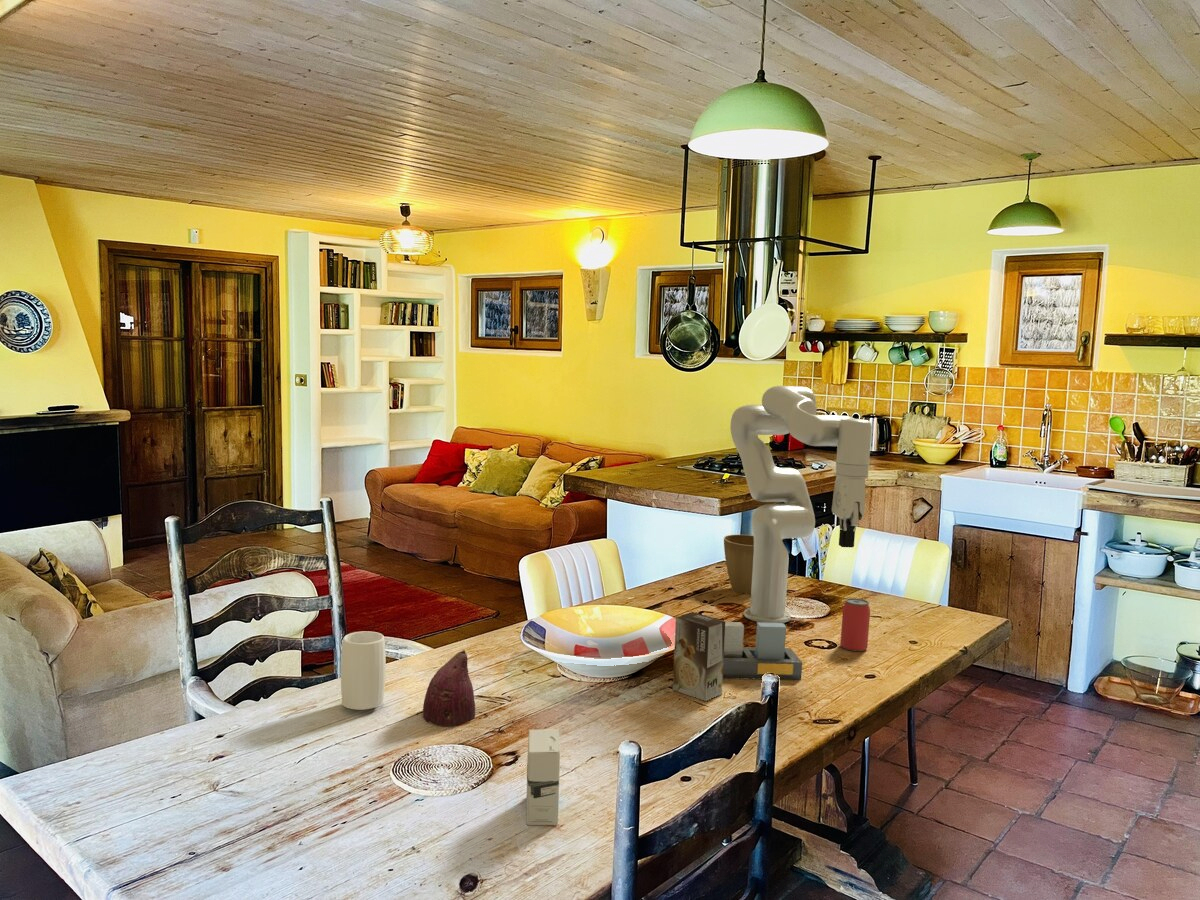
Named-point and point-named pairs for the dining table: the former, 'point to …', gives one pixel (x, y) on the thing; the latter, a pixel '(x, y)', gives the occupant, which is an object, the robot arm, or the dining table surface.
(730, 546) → the plant pot
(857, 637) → the beer can
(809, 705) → the dining table surface
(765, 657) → the block
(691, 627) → the coffee box
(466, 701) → the vegetable
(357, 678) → the cup
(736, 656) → the rack
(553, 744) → the ink box
